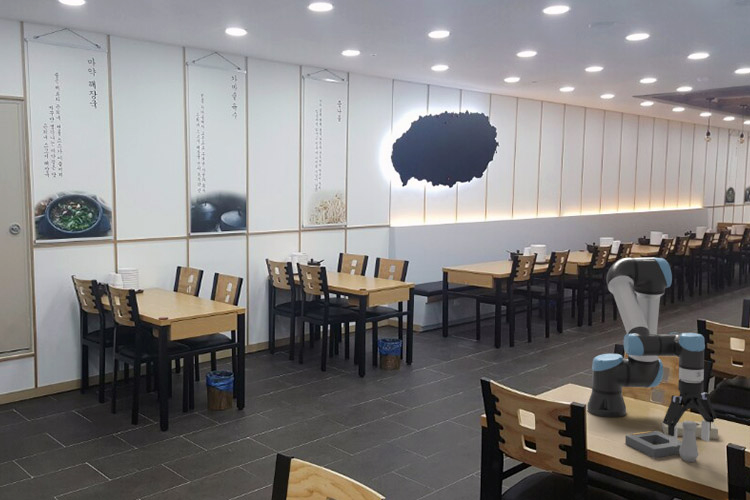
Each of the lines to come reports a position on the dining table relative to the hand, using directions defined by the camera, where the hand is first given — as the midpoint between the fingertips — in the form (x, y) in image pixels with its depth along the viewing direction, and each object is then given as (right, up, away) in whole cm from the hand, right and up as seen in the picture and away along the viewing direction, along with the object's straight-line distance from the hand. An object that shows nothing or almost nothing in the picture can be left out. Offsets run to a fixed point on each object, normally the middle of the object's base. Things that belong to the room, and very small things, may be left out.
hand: (689, 442), depth 222 cm
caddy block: (-7, -5, +11) cm, 14 cm away
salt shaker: (0, -6, +1) cm, 6 cm away
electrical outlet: (+12, -4, +25) cm, 29 cm away
